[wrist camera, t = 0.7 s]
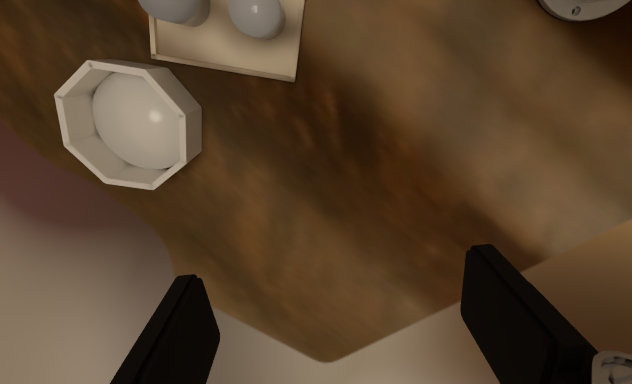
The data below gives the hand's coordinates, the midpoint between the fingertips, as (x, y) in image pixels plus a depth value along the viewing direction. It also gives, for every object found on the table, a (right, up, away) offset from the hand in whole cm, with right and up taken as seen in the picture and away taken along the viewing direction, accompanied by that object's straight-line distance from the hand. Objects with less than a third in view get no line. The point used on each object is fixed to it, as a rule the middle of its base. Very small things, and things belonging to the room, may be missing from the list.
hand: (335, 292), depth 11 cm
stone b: (-14, +24, +21) cm, 35 cm away
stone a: (-6, +22, +22) cm, 32 cm away
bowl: (-22, +12, +27) cm, 36 cm away
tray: (-10, +23, +22) cm, 33 cm away
